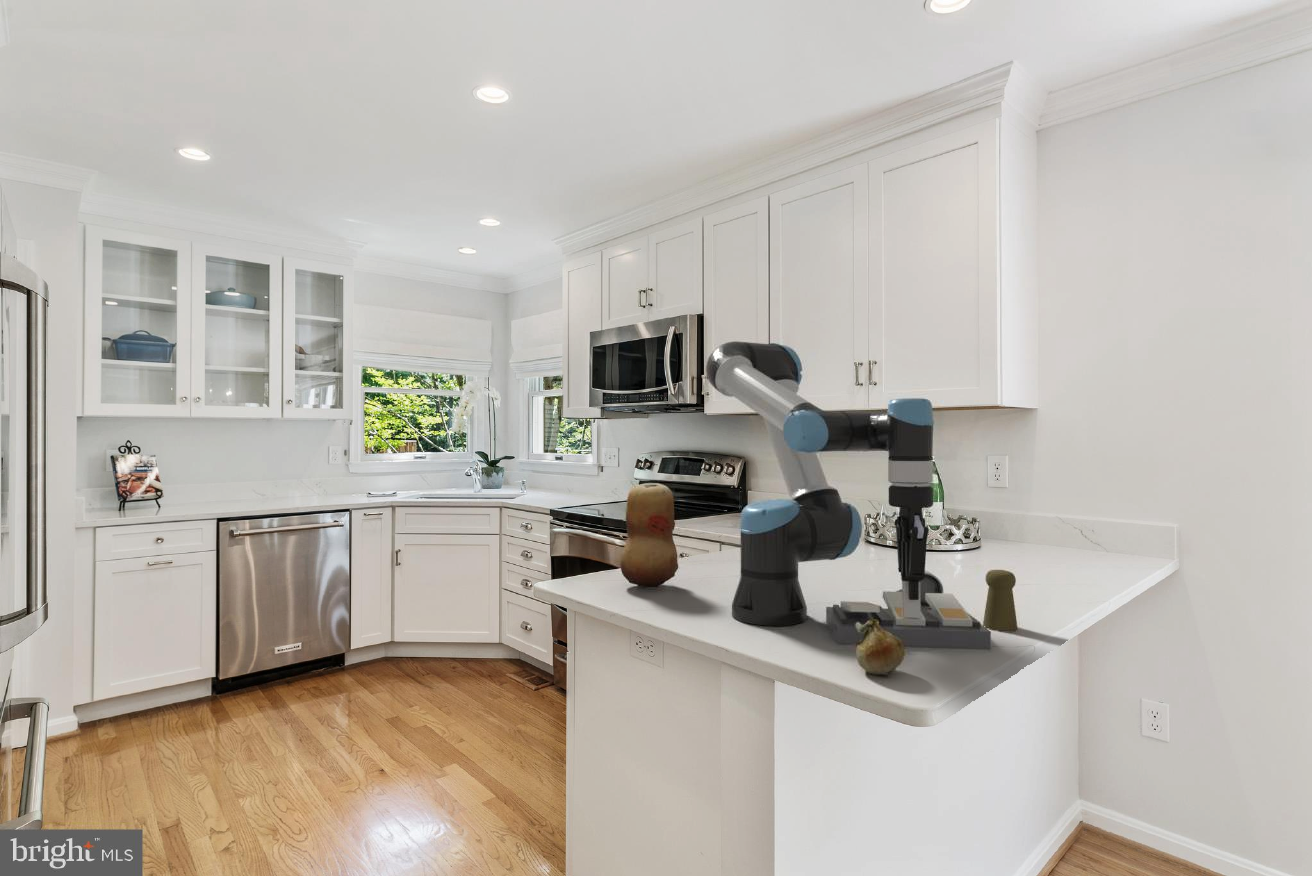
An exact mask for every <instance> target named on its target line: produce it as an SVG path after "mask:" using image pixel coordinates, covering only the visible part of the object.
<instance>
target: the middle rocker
mask: <svg viewBox="0 0 1312 876" xmlns="http://www.w3.org/2000/svg"><path fill="white" fill-rule="evenodd" d="M882 599H883V601H884V603H885V605H886V607H887V609H889V611H890V613H891V615H892V617H893V619H894V621H895V623H896V625H918V626H925V623H926V619H925V617H924V616H923V614H922V612H921V618H905V617H904V616H903V614H902V592H895V591H885V590H883V591H882Z"/></svg>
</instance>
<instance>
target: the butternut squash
mask: <svg viewBox="0 0 1312 876" xmlns="http://www.w3.org/2000/svg"><path fill="white" fill-rule="evenodd" d="M674 499H675V498H674V494H673V491H672V490H671V489H670V488H669V487H668V486H666V485H664V484H661V483H656V482H655V483H654V482H653V483H652V482H648V483H646V482H645V483H641V484H638V485H634V486H633V487H632V488H631V489H630V490H629V492H628V494H627V500H626V509H625V523H626V531H627V535H626V537H627V538H626V542H625V545H624V547H623V550H622V553H621V555H620V556H621V557H620V571H621V573H622V575H623V578H625V579H626V580H627V582H628V583H630V584H632V585H636V586H638V587H639V588H640V587H641V588H659V587H660V586H662V585H664V584H665V583H666V582H668V581H669V580H670V579H672V578H674V577H675V576H676V572H677V571H678V569H679V563H678V551H677V547H676V544H675V541H674V537H673V536H674V535H673V532H674V530H675V528H676V521H675V500H674Z"/></svg>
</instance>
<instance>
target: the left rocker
mask: <svg viewBox="0 0 1312 876" xmlns="http://www.w3.org/2000/svg"><path fill="white" fill-rule="evenodd" d="M839 603H840V607H841V608H843V609H846V610H848V611H851V612H880V610H879V606H880V605H879V604H875V603H871V602H868V601H846V600H845V601H844V600H843V601H840V602H839Z"/></svg>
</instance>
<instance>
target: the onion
mask: <svg viewBox="0 0 1312 876" xmlns="http://www.w3.org/2000/svg"><path fill="white" fill-rule="evenodd" d="M855 626H856V628H857V631H858V632H859V633H861V634H864V636H863V638H861V640H858V642H857V645H855V646H856V647H855V651H856V652H855V658H856V660H857V663H858V665H859V667H861V669H862V670H864V671H865V672H866V673H869V674H871V675H876V676H877V675H879V676H882V675H883V676H887V675H889V674H891V673H892V672H893V671H895V670H896V669H897V668H899V666H900V665H901V664H902V662H903V661H904V658H905V655H906V653H905V652H906V651H905V646H904V645H903V643H902V641H900V640H899V638H897V637H895V636H893V635H892V634H891V633H889V632H887V631H884V630H883V629H882V628H881V627H880V626H879V621H877V620H875V619H873V620H872V621H870V620H869V621H868V622H866V623H865V625H862V624H860V623H859V622H857V623H856V625H855Z"/></svg>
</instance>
